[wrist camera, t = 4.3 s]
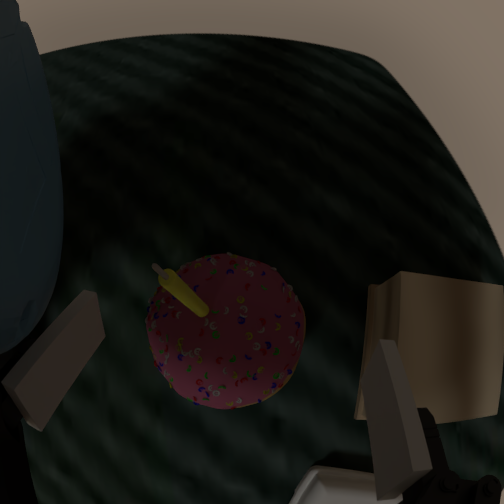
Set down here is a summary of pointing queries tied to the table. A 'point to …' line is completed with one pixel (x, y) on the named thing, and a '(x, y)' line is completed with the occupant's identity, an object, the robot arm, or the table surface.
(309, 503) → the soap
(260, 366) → the cupcake
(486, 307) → the pedestal
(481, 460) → the table surface
